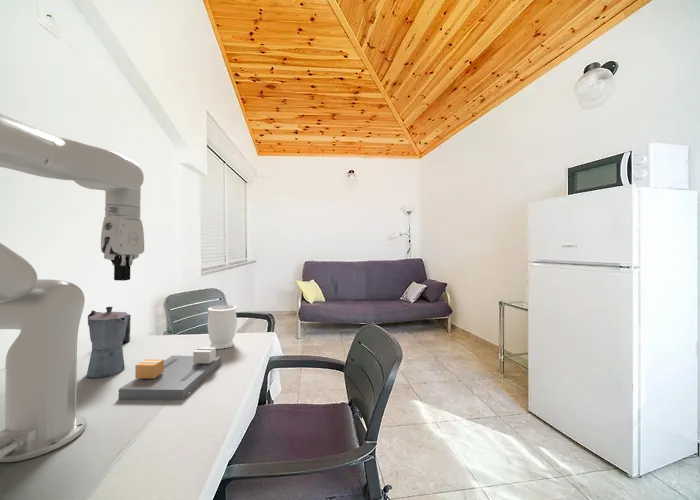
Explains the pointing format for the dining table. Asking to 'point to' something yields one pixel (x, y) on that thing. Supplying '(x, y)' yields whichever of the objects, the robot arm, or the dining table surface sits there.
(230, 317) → the jar
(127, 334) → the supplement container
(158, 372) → the orange fader
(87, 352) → the dining table surface
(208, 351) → the block
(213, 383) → the dining table surface
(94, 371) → the moka pot
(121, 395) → the console
